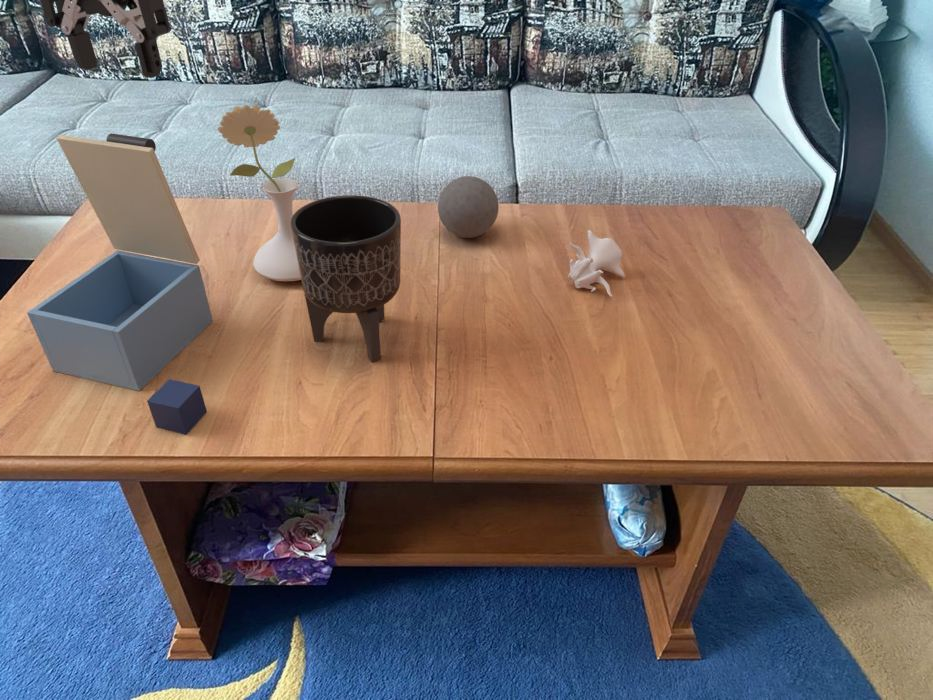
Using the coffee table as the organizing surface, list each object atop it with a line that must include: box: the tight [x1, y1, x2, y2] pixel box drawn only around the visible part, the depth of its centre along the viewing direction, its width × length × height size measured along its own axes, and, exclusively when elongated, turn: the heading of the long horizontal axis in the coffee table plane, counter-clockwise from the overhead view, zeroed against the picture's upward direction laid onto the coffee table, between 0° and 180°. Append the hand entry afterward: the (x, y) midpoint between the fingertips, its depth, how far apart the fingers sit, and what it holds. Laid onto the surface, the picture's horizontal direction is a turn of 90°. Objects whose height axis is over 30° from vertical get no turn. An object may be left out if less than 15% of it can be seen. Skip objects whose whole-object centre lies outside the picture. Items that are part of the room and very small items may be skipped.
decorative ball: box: [437, 175, 499, 239], centre depth 113 cm, size 10×10×10 cm
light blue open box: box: [26, 249, 214, 392], centre depth 87 cm, size 16×13×9 cm
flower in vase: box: [217, 104, 302, 282], centre depth 98 cm, size 13×11×25 cm
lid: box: [56, 133, 201, 265], centre depth 85 cm, size 16×13×5 cm
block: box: [146, 378, 208, 436], centre depth 77 cm, size 4×4×4 cm
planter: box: [290, 194, 402, 363], centre depth 86 cm, size 13×13×18 cm
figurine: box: [567, 229, 626, 298], centre depth 103 cm, size 10×8×10 cm
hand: (120, 72), depth 78 cm, fingers open, 8 cm apart
